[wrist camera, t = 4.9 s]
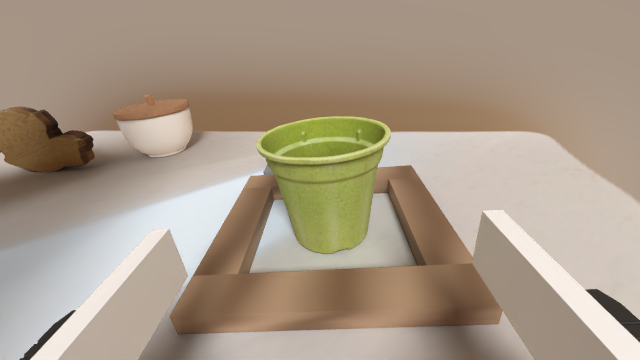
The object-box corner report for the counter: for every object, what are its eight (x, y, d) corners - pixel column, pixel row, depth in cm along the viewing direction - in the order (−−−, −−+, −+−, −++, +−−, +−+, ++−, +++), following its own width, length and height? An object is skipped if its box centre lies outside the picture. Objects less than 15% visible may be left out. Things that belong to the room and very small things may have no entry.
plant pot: (363, 289, 18) (360, 166, 14) (252, 250, 22) (227, 149, 18) (400, 213, 25) (405, 118, 21) (311, 195, 29) (301, 114, 26)
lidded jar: (179, 138, 54) (163, 88, 50) (212, 144, 49) (197, 89, 44) (120, 157, 47) (95, 101, 43) (152, 168, 41) (126, 103, 37)
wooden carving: (113, 160, 46) (86, 98, 41) (92, 172, 42) (59, 104, 37) (21, 167, 47) (-16, 107, 42) (-8, 179, 43) (-52, 114, 38)
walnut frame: (177, 333, 16) (169, 316, 15) (253, 187, 32) (250, 176, 32) (498, 323, 15) (504, 304, 14) (410, 177, 31) (411, 165, 30)
